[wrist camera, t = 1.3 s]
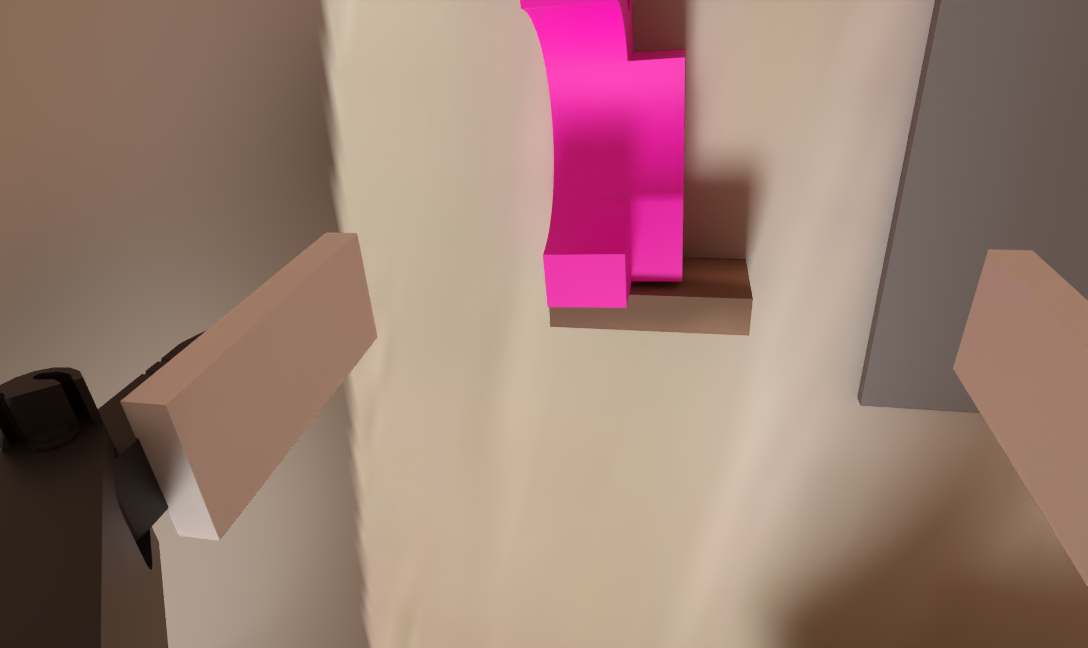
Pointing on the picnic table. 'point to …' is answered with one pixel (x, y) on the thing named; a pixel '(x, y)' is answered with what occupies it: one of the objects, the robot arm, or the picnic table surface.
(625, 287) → the toy block
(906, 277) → the slate mat
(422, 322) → the picnic table surface
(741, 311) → the block
